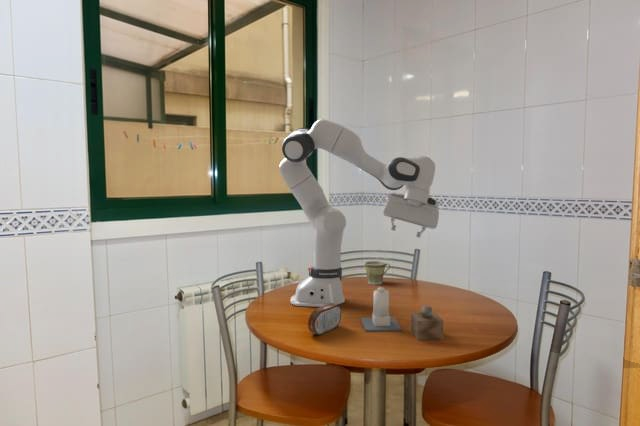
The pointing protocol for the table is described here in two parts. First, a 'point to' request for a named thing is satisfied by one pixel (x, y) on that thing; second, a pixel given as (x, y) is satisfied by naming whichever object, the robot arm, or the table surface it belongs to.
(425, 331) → the post plinth
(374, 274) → the ceramic cup
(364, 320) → the mat
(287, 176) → the robot arm
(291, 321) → the table surface
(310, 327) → the tin
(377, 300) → the white tapered tower
